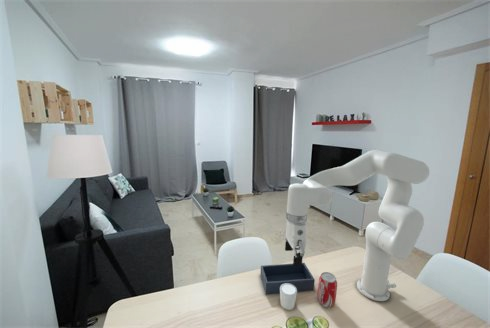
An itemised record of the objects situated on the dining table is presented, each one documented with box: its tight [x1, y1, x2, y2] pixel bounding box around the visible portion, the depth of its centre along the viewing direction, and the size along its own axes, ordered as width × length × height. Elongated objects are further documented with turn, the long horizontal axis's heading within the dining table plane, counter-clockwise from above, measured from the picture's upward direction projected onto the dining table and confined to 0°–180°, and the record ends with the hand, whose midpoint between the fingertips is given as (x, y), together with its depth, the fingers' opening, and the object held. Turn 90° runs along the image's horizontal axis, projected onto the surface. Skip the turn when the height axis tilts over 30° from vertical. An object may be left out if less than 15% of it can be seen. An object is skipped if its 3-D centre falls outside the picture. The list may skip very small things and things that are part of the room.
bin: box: [260, 262, 315, 296], centre depth 101 cm, size 22×12×6 cm, turn 97°
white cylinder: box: [279, 283, 298, 311], centre depth 90 cm, size 7×7×7 cm
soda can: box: [316, 271, 338, 309], centre depth 90 cm, size 7×7×12 cm
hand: (292, 257), depth 87 cm, fingers open, 9 cm apart
